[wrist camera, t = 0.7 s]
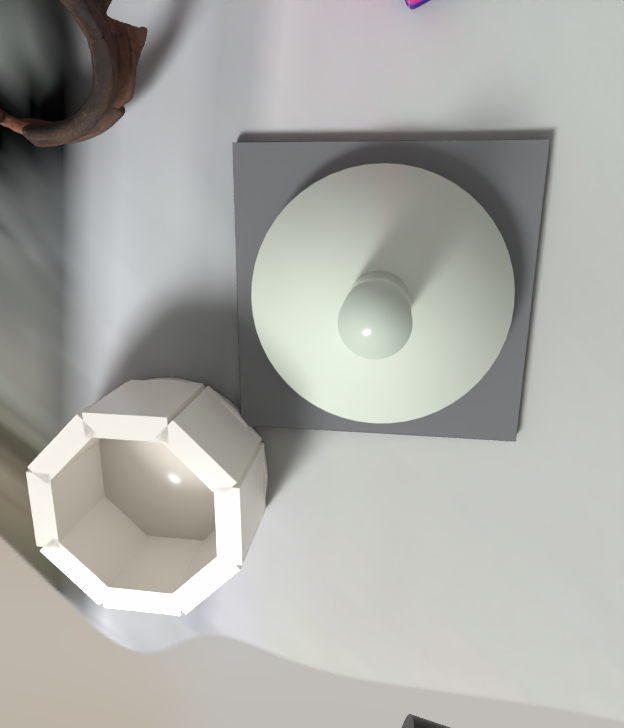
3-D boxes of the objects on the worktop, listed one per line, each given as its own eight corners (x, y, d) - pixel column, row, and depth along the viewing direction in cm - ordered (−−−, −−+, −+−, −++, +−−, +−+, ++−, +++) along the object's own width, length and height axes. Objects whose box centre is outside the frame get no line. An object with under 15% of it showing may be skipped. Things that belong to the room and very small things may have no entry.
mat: (546, 140, 25) (549, 139, 24) (513, 437, 28) (515, 441, 28) (235, 143, 26) (232, 142, 26) (243, 421, 30) (241, 425, 30)
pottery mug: (174, -94, 25) (134, -59, 19) (163, 119, 31) (131, 192, 25) (-129, -183, 23) (-279, -175, 17) (-73, 64, 29) (-167, 131, 23)
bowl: (266, 382, 30) (239, 419, 24) (269, 557, 32) (246, 624, 27) (77, 372, 31) (14, 406, 26) (96, 542, 34) (43, 602, 29)
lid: (522, 164, 25) (563, 151, 19) (496, 421, 28) (523, 479, 22) (254, 165, 26) (213, 154, 20) (259, 408, 29) (225, 459, 24)
